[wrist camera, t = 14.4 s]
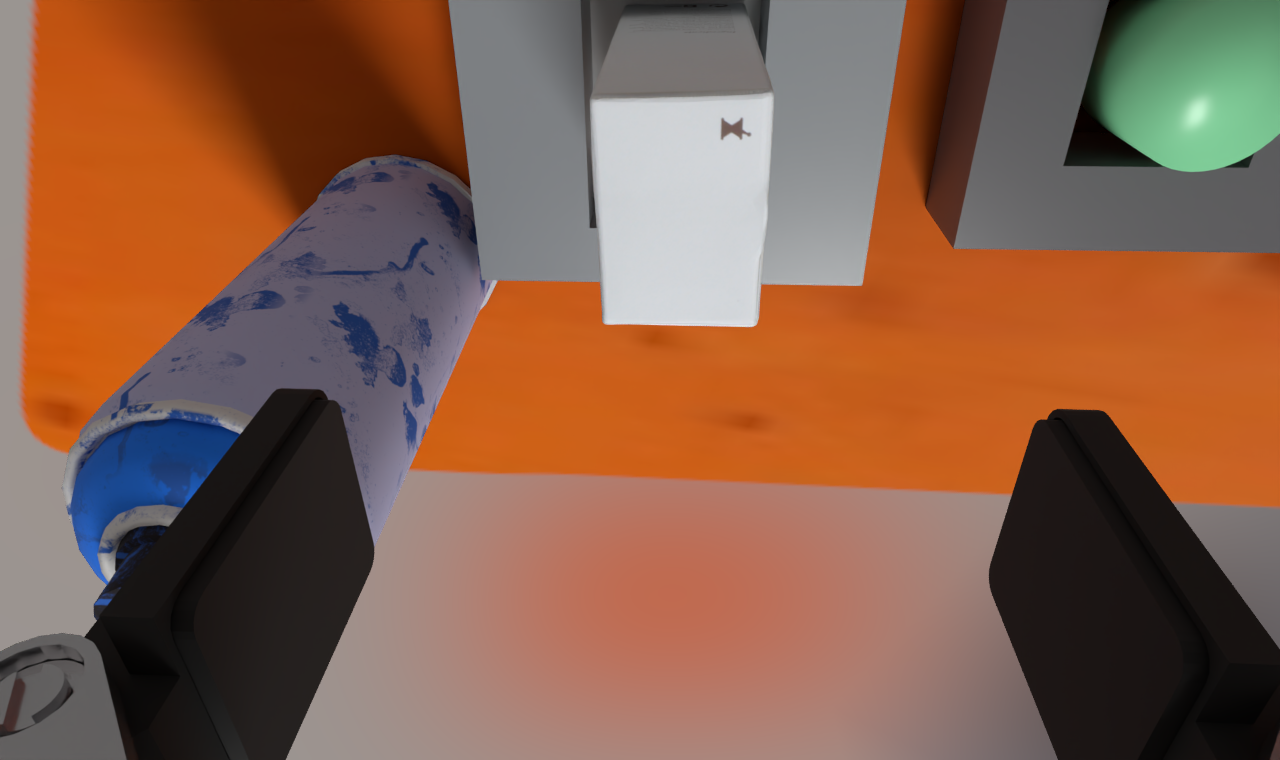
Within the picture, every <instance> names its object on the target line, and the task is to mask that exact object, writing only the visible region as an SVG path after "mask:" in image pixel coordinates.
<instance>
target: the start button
mask: <svg viewBox="0 0 1280 760" xmlns="http://www.w3.org/2000/svg"><path fill="white" fill-rule="evenodd" d="M1081 103H1082V106H1083V107H1084V109H1085V111H1086V112H1087V114H1088V115H1089V116H1090V117H1091V118H1092V119H1093V120H1094V121H1095V122H1096V123H1098V124H1099V125H1100V126H1102V127H1103V128H1105V129H1106V130H1108V131H1109V132H1111V133H1112V134H1114V135H1116V136H1117V137H1119V138H1120V139H1122V140H1123V141H1125V142H1126V143H1128V144H1129V145H1131V146H1132V147H1134V148H1135V149H1137V150H1138V151H1140V152H1141V153H1143V154H1145V155H1146V156H1148V157H1149V158H1151V159H1152V160H1154V161H1155V162H1157V163H1159V164H1161V165H1162V166H1165V167H1168V168H1170V169H1174V170H1178V171H1186V172H1201V171H1209V170H1215V169H1218V168H1222V167H1225V166H1228V165H1231V164H1233V163H1236V162H1238V161H1240V160H1242V159H1244V158H1246V157H1248V156H1250V155H1252V154H1253V153H1255V152H1257V151H1258V150H1260V149H1261V148H1263V147H1264V146H1265V145H1267V144H1268V143H1269V142H1271V141H1272V140H1273V139H1274V138H1275V137H1276V136H1277V135H1279V134H1280V0H1119V1H1118V2H1117V3H1116V4H1114V5H1113V6H1112V7H1111V8H1110V9H1109V10H1108V11H1107V12H1106V14H1105V17H1104V21H1103V24H1102V28H1101V32H1100V35H1099V39H1098V42H1097V46H1096V50H1095V53H1094V57H1093V60H1092V64H1091V68H1090V71H1089V75H1088V78H1087V82H1086V86H1085V89H1084V93H1083V96H1082V100H1081Z"/></svg>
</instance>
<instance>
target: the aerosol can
mask: <svg viewBox="0 0 1280 760" xmlns="http://www.w3.org/2000/svg"><path fill="white" fill-rule="evenodd" d="M497 281H498V280H482V277H481V268H480V260H479V252H478V243H477V235H476V227H475V218H474V210H473V202H472V193H471V189H470V188H469V187H467V186H466V185H465V184H464V183H463V182H462V181H461V180H460V179H459V178H458V177H457V176H456V175H454V174H452V173H450V172H448V171H446V170H444V169H442V168H440V167H438V166H436V165H434V164H432V163H430V162H428V161H426V160H421V159H416V158H411V157H405V156H400V155H388V156H380V157H371V158H365V159H363V160H361V161H359V162H357V163H355V164H353V165H351V166H349V167H347V168H345V169H343V170H341V171H340V172H339V173H338V174H337V175H336V176H335V177H334V178H333V179H332V180H331V181H330V183H329V184H328V185H327V186H326V187H325V188H324V189H323V191H322V192H321V193H320V194H319V195H318V198H317V201H316V202H315V203H314V204H313V205H312V206H310V207H309V208H308V209H307V210H306V211H305V212H304V213H303V214H302V215H301V216H300V217H299V218H298V219H297V220H296V221H295V222H294V223H293V224H292V225H291V226H289V227H288V228H287V229H286V230H285V231H284V232H283V233H282V234H281V235H280V236H279V237H278V238H277V239H276V240H275V241H274V242H273V243H272V244H271V245H270V246H268V247H267V248H266V249H265V250H264V251H263V252H262V253H261V254H260V255H259V256H258V257H257V258H256V259H255V260H254V261H253V262H252V263H251V264H250V265H249V266H247V267H246V268H245V269H244V270H243V271H242V272H241V273H240V274H239V275H238V276H237V277H236V278H235V279H234V280H233V281H232V282H231V283H230V284H229V285H227V286H226V287H225V288H224V289H223V290H222V291H221V292H220V293H219V294H218V295H217V296H216V297H215V298H214V299H213V300H212V301H211V302H210V303H209V304H208V305H206V306H205V307H204V308H203V309H202V310H201V311H200V312H199V313H198V314H197V315H196V316H195V317H194V318H193V319H192V320H191V321H190V322H189V323H188V324H187V325H185V326H184V327H183V328H182V329H181V330H180V331H179V332H178V333H177V334H176V335H175V336H174V337H173V338H172V339H171V340H170V341H169V342H168V343H167V344H166V345H164V346H163V347H162V348H161V349H160V350H159V351H158V352H157V353H156V354H155V355H154V356H153V357H152V358H151V359H150V360H149V361H148V362H147V363H146V364H145V365H143V366H142V367H141V368H140V369H139V370H138V371H137V372H136V373H135V374H134V375H133V376H132V377H131V378H130V379H129V380H128V381H127V382H126V383H125V384H124V385H122V386H121V387H120V388H119V389H118V390H117V391H116V392H115V393H114V394H113V395H112V396H111V397H110V398H109V399H108V400H107V401H106V402H105V403H104V404H103V405H102V406H101V407H100V408H99V409H98V411H97V412H96V413H95V414H94V415H93V417H92V418H91V419H90V420H89V421H88V423H87V424H86V425H85V426H84V427H83V428H82V430H81V431H80V436H79V439H78V440H77V441H76V442H75V444H74V445H73V446H72V447H71V448H70V451H69V454H68V459H67V464H66V469H65V474H64V480H63V484H62V491H63V495H64V499H65V503H66V506H67V511H68V514H69V518H70V522H71V524H72V525H73V527H74V531H75V535H76V539H77V543H78V546H79V550H80V552H81V553H82V555H83V556H84V558H85V559H86V561H87V562H88V563H89V565H90V566H91V568H92V569H93V571H94V572H95V574H96V575H97V576H98V577H99V578H100V579H101V580H102V581H103V582H104V583H105V584H107V586H106V587H105V589H104V590H103V592H102V593H101V595H100V596H99V598H98V599H97V601H96V602H95V604H94V617H95V618H96V620H98V619H99V618H100V617H99V615H100V614H101V613H102V612H103V610H104V609H105V608H106V606H107V605H108V604H109V603H110V601H111V600H112V599H113V597H114V596H115V595H116V594H117V592H118V591H119V590H120V588H121V587H122V586H123V585H124V583H125V582H126V581H127V579H128V578H129V577H130V576H131V574H132V573H133V572H134V570H135V569H136V568H137V567H138V565H139V564H140V563H141V561H142V560H143V559H144V558H145V556H146V555H147V554H148V552H149V551H150V550H151V549H152V547H153V546H154V545H155V543H156V542H157V541H158V540H159V538H160V537H161V536H162V534H163V533H164V532H165V531H166V529H167V528H168V527H169V525H170V524H171V523H172V522H173V520H174V519H175V518H176V516H177V515H178V514H179V513H180V511H181V510H182V509H183V507H184V506H185V505H186V504H187V502H188V501H189V500H190V498H191V497H192V496H193V495H194V493H195V492H196V491H197V489H198V488H199V487H200V486H201V484H202V483H203V482H204V480H205V479H206V478H207V477H208V475H209V474H210V473H211V471H212V470H213V469H214V468H215V466H216V465H217V464H218V462H219V461H220V460H221V459H222V457H223V456H224V455H225V453H226V452H227V451H228V450H229V448H230V447H231V446H232V444H233V443H234V442H235V441H236V439H237V438H238V437H239V435H240V434H241V433H242V432H243V430H244V429H245V428H246V426H247V425H248V424H249V423H250V421H251V420H252V419H253V417H254V416H255V415H256V413H257V412H258V411H259V410H260V408H261V407H262V406H263V404H264V403H265V402H266V401H267V399H268V398H269V397H270V395H271V394H272V393H273V392H274V391H275V390H276V389H280V388H293V389H320V390H322V391H324V393H325V394H326V395H327V398H328V400H335V401H337V402H338V404H339V405H340V408H341V412H342V416H343V420H344V424H345V428H346V432H347V436H348V440H349V444H350V448H351V452H352V456H353V460H354V465H355V469H356V473H357V477H358V481H359V485H360V489H361V493H362V497H363V501H364V505H365V509H366V513H367V517H368V522H369V526H370V530H371V534H372V538H373V542H374V547H375V545H376V542H377V540H378V538H379V536H380V534H381V531H382V529H383V527H384V525H385V522H386V520H387V518H388V515H389V513H390V511H391V509H392V507H393V504H394V502H395V500H396V498H397V495H398V493H399V491H400V488H401V486H402V484H403V482H404V479H405V477H406V475H407V473H408V470H409V468H410V466H411V464H412V461H413V459H414V457H415V455H416V452H417V450H418V448H419V446H420V443H421V441H422V439H423V437H424V434H425V432H426V430H427V428H428V425H429V423H430V421H431V419H432V416H433V414H434V412H435V410H436V407H437V405H438V403H439V401H440V398H441V396H442V394H443V391H444V389H445V387H446V385H447V382H448V380H449V378H450V376H451V373H452V371H453V369H454V367H455V364H456V362H457V360H458V358H459V355H460V353H461V351H462V349H463V346H464V344H465V342H466V340H467V337H468V335H469V333H470V331H471V328H472V326H473V324H474V322H475V319H476V317H477V315H478V313H479V311H480V310H481V309H482V308H483V307H484V306H485V305H486V303H487V301H488V299H489V297H490V295H491V293H492V291H493V289H494V287H495V285H496V283H497Z"/></svg>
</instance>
